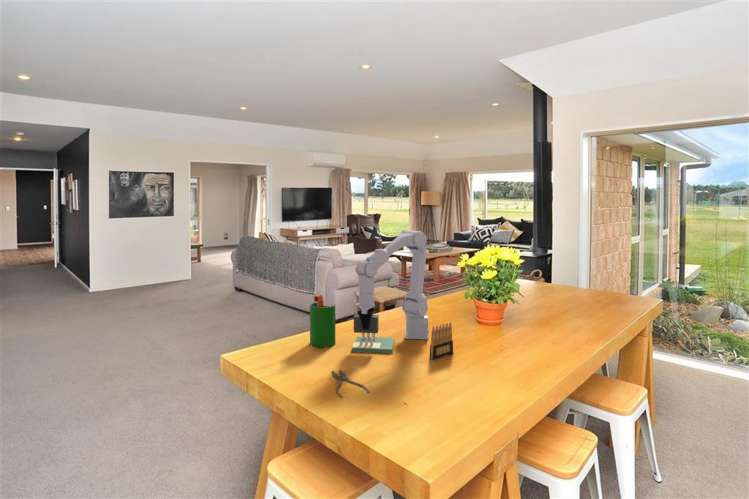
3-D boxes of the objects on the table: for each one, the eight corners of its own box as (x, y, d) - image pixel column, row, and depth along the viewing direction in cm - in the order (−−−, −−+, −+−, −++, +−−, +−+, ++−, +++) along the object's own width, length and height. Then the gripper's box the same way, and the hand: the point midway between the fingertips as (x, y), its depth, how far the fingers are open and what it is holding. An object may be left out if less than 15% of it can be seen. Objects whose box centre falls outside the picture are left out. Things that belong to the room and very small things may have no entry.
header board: (394, 341, 184) (394, 330, 183) (392, 353, 170) (392, 341, 169) (356, 340, 185) (356, 329, 185) (351, 351, 171) (351, 340, 171)
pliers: (344, 398, 132) (313, 375, 148) (344, 401, 132) (313, 377, 148) (372, 390, 137) (339, 369, 153) (372, 393, 137) (339, 371, 154)
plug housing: (378, 330, 175) (378, 314, 174) (377, 333, 171) (377, 317, 170) (355, 329, 176) (355, 314, 175) (353, 332, 172) (353, 316, 171)
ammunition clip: (433, 360, 163) (433, 327, 162) (429, 358, 165) (429, 326, 163) (453, 353, 170) (453, 322, 168) (449, 352, 171) (450, 320, 170)
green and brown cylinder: (338, 341, 183) (338, 292, 181) (329, 349, 175) (328, 297, 172) (315, 339, 186) (315, 291, 184) (305, 346, 178) (304, 295, 175)
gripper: (358, 288, 179) (358, 322, 181) (353, 296, 165) (353, 333, 167) (376, 288, 179) (376, 322, 180) (372, 296, 164) (372, 333, 166)
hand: (366, 327), depth 173 cm, fingers closed on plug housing, 4 cm apart
